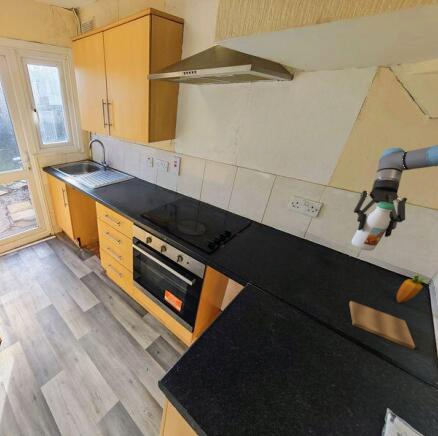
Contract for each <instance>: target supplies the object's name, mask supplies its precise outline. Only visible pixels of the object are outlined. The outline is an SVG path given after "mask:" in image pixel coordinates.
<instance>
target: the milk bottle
mask: <svg viewBox="0 0 438 436" xmlns="http://www.w3.org/2000/svg"><path fill="white" fill-rule="evenodd" d="M394 207H395V205H393V204H391V203H388V202H379V203H377V204H376V208H375V209H374V210H373V211H372V212H370V213H369V214H367V215H366V219H365V223H364V227H363V229H362V230H358V229H357V230H356V231H355V232H354V235H353V237H352V239H351V244H352V245H353V246H354V247H355V248H357V249H360V250H363V251H373V250H375V249H376V247H377V245H379V243H380V241H381V239H382V238H383V236H384V235H385V232H386V230H387V228H388V226H389V221H390V217H389V215H390V212H391V211H392V210H393V208H394ZM395 208H396V207H395Z"/></svg>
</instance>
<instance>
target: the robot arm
mask: <svg viewBox="0 0 438 436" xmlns="http://www.w3.org/2000/svg"><path fill="white" fill-rule="evenodd" d="M401 148H402V147H397V148H395V147H392V149H391V148H388V149H386V150H384V151H385V152H384V151H383V152H384V153H383V152H382V153H383V155H382V154H381V155H382V156H380V157H379V160H378V166H377V170H376V173H375V176H374V181H373V184H372V188H371V191H367V190H363V191H362V192H361V193H360V198H359V200H358V202H357V204H356V206H355V207H354V209H353V213H355V214H357V222H358V223H359V224H358V227H357V230H362V229H363V227H364V223H365V219H366V216H367V215H368V214H367V213H366V212H367V211H368V210H369V209H370V208H371V207H372V206H373V205H375V204H378V203H379V202H388V203H391V204H393V205H394V204H395V202H394V201H396V204H397V207H394V208H393V210H392V211H391V212H390V215H389V226H388V228H387V230H386V231H385V233H384V235H383V236H384V237H385V238H388V237H391V235H392V232H393V230H396V228H397V226H398V223H402V222H404V221H406V203H407V201H408V198H407V197H400V196H399V195H398V191H399V187H400V184H401V179H402V175H403V172H404V171H410V170H416V169H424V168H432V167H438V144H437V145H433V146H428V147H422V148H418V149H413V150H406V151H407V152H405V151H404V150H403V149H404V148H402V149H401ZM403 154H404V155H403ZM402 159H403V160H402ZM403 165H404V166H403ZM404 167H405V168H404ZM367 197H370V198H371V200H370V201H369V202H368V203H367V204H366V205H365V206H364V207H363V208H362V206H363V204H364V202H365V200H366V199H367ZM394 206H395V205H394Z"/></svg>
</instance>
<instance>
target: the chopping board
mask: <svg viewBox="0 0 438 436" xmlns="http://www.w3.org/2000/svg"><path fill="white" fill-rule="evenodd" d="M348 304H349V305H348V306H349V311H350V316H351V323H352V326H354V327H357V328H359V329H361V330H364V331H367V332H369V333H372V334H373V335H376V336H379V337H382V338H384V339H387V340H388V341H391V342H393V343H396V344H398V345H401V346H403V347H406V348H408V349H411V350H414V349H416V345H415V342H414V339H413V338H412V334H411V331H410V330H409V327H408V325H407V322H406V320H404V319H401V318H399V317H396V316H393V315H391V314H388V313H386V312H382V311H380V310H377V309H374V308H372V307H369V306H366V305H363V304H361V303H358V302H355V301H352V300H350V301H349V303H348Z"/></svg>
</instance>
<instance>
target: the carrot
mask: <svg viewBox="0 0 438 436" xmlns="http://www.w3.org/2000/svg"><path fill="white" fill-rule="evenodd" d="M419 278H420V276H419V274H417V273H415V274H414V276H413V278H412V279H410V278H408V279H406V280H404V281H403V283H402V284H401V285H400V286H399V288H398V290H397V294H396V301H397V303H399V304H402V303H405V302H407V301H409V300H411V299H412V298H414V297H415V296H416V295H418V294H419V293H420V291H421V290H422V289H423V288H424V286H423V285H422V284H421V283H424V284H426V283H427V281H426V280H427V279H428V277H427V276H425V277H422V278H421V279H419Z"/></svg>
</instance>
